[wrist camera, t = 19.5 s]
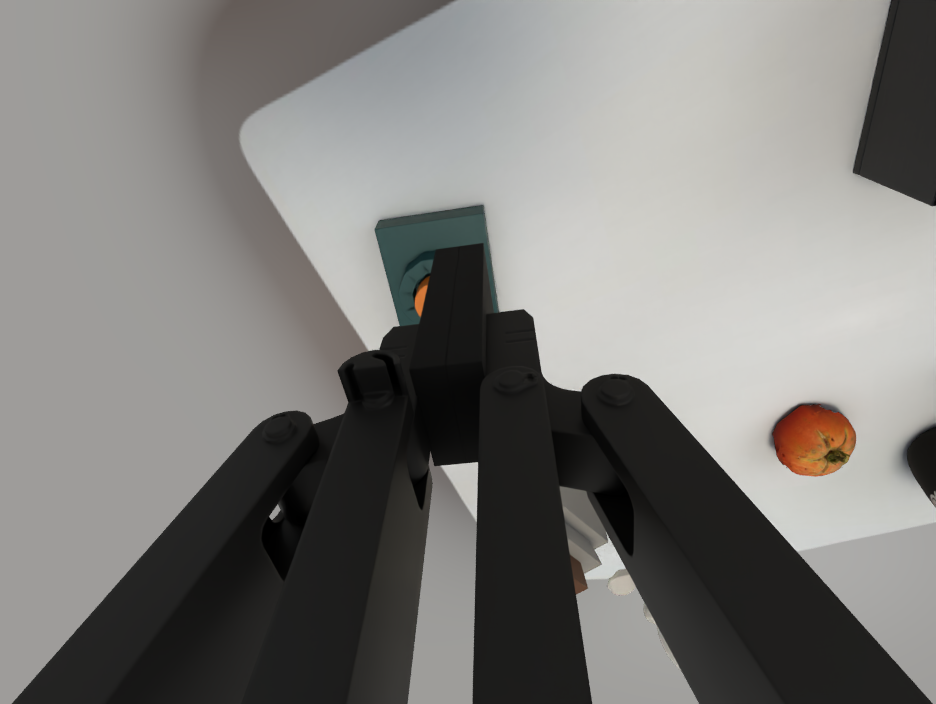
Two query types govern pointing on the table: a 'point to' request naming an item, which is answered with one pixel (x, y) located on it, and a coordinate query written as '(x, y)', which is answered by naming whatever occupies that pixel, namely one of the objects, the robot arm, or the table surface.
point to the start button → (421, 295)
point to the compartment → (903, 105)
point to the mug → (924, 462)
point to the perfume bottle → (581, 534)
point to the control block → (426, 251)
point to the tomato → (814, 440)
